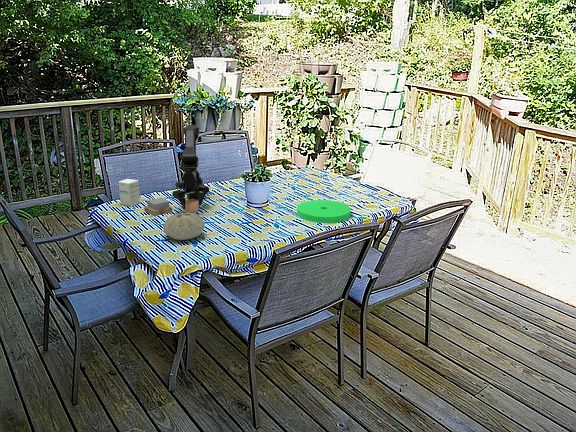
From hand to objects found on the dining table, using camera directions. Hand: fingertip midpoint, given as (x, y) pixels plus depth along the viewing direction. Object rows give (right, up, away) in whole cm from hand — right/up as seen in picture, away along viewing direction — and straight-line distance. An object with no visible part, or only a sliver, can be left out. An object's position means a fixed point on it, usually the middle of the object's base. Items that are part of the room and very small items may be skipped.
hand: (191, 207), depth 256 cm
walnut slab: (-16, -3, -2) cm, 17 cm away
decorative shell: (+3, -13, -33) cm, 36 cm away
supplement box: (-34, +2, +8) cm, 35 cm away
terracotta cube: (0, -1, 0) cm, 1 cm away
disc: (+67, -4, -2) cm, 67 cm away
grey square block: (-16, 0, -3) cm, 16 cm away
